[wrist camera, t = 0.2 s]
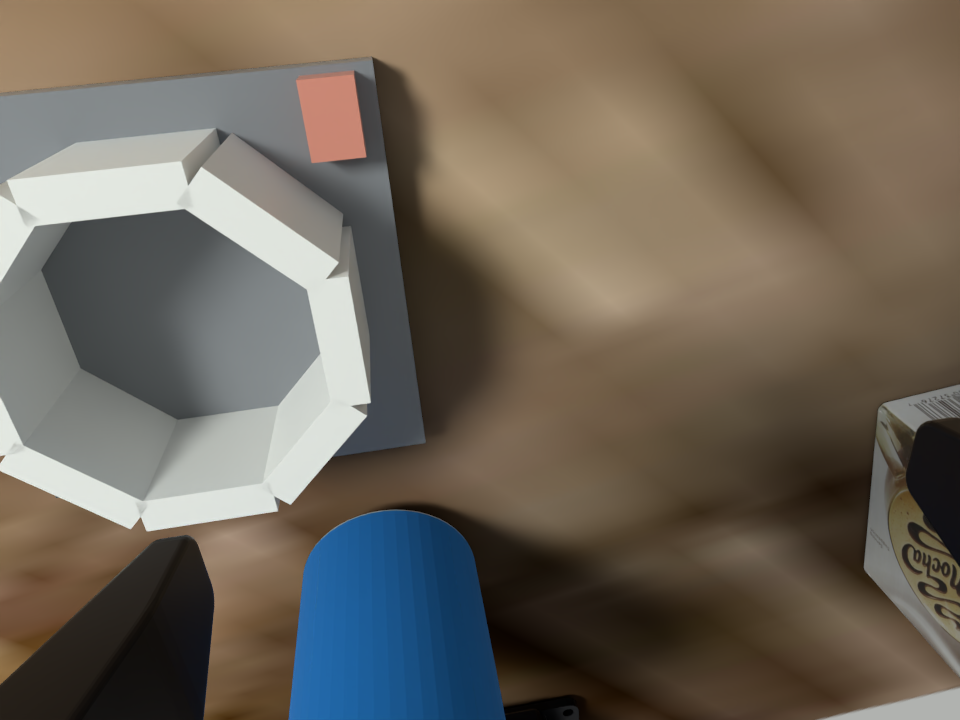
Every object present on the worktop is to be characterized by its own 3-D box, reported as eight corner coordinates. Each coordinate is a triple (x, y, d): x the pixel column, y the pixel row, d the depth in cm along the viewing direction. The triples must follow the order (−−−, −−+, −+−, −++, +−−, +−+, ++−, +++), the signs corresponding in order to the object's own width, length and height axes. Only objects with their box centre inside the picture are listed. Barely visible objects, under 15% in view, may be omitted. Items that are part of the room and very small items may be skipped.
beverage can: (343, 640, 29) (332, 1012, 18) (275, 529, 26) (217, 901, 15) (492, 591, 29) (566, 935, 18) (443, 473, 26) (497, 807, 15)
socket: (423, 426, 25) (436, 521, 20) (67, 479, 24) (0, 590, 19) (371, 56, 19) (374, 77, 15) (-102, 102, 18) (-253, 140, 13)
